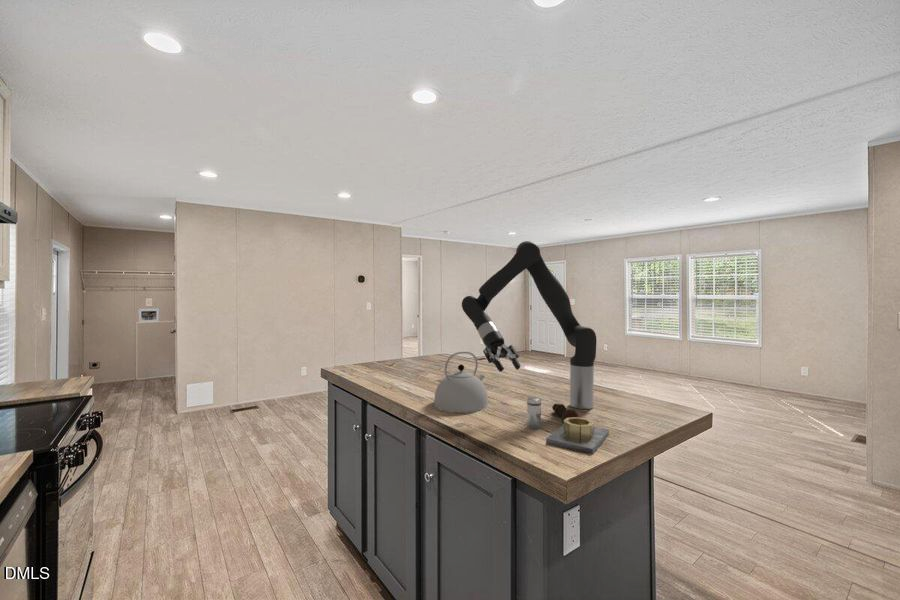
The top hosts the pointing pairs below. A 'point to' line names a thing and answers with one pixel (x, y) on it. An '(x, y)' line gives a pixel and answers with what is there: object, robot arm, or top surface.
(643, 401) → the top surface
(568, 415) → the bolt
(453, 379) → the kettle
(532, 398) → the cylinder
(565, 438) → the square base with ring
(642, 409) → the top surface
